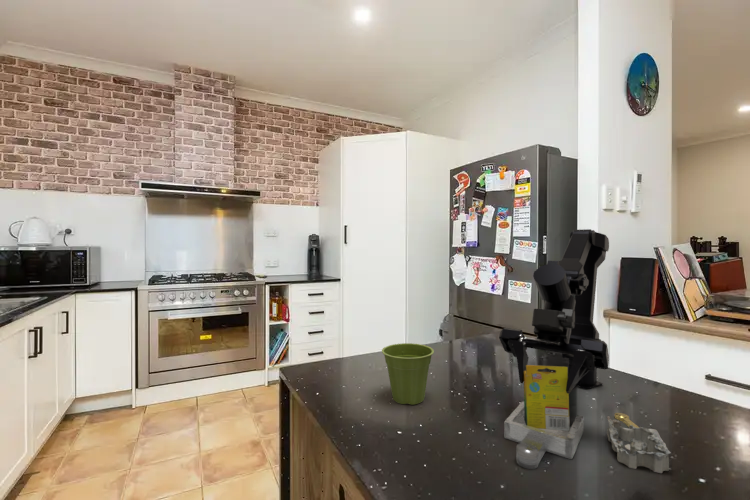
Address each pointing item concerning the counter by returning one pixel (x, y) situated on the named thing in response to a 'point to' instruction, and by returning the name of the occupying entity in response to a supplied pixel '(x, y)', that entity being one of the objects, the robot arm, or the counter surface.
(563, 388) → the crayon box
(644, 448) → the egg carton
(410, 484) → the counter surface
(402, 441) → the counter surface
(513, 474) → the counter surface
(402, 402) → the plant pot
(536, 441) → the grey u-shaped piece
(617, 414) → the brass key
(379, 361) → the counter surface
